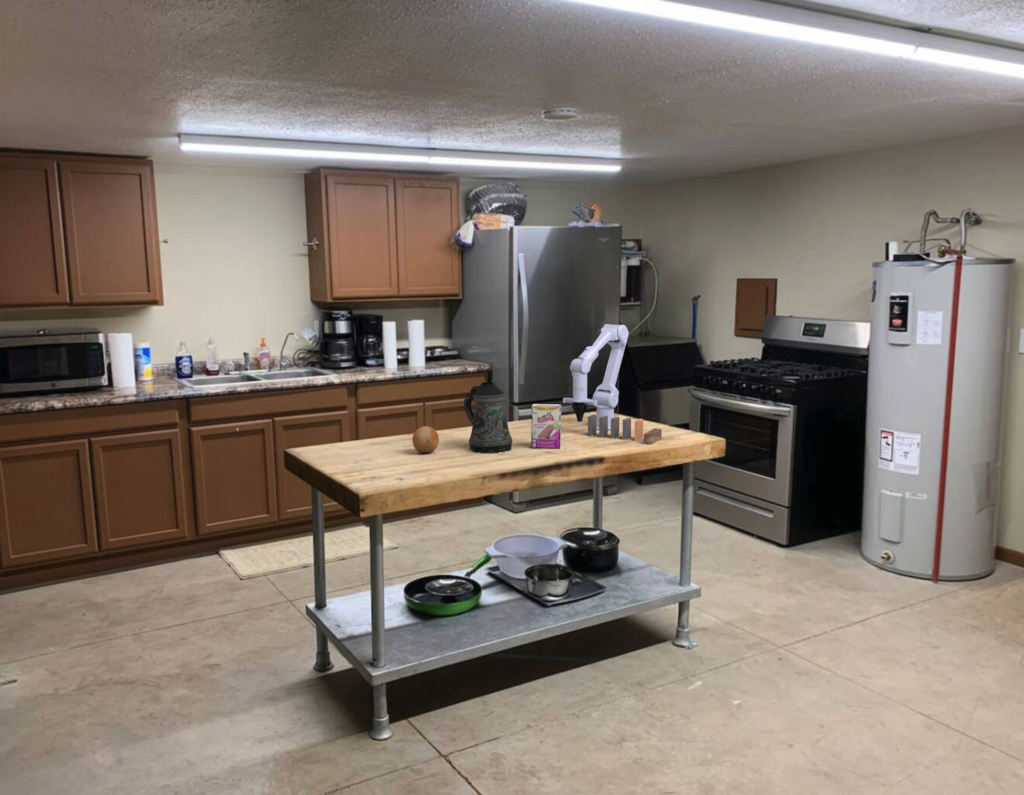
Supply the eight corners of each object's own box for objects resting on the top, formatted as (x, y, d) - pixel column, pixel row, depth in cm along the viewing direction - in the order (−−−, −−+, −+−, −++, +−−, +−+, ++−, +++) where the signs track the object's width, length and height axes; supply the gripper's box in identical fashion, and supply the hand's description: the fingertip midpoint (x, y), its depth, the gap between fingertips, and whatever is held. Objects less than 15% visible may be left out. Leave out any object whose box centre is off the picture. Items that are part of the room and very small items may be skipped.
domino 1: (587, 436, 324) (587, 416, 323) (592, 433, 329) (592, 414, 327) (591, 436, 324) (591, 416, 322) (596, 434, 328) (596, 414, 327)
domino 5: (634, 440, 315) (634, 420, 313) (639, 438, 319) (639, 418, 318) (638, 441, 314) (638, 421, 313) (642, 438, 318) (643, 419, 317)
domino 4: (622, 439, 317) (622, 419, 316) (627, 437, 321) (627, 417, 320) (626, 440, 316) (626, 420, 315) (630, 437, 321) (631, 418, 319)
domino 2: (599, 437, 322) (599, 417, 321) (604, 434, 326) (604, 415, 325) (602, 437, 321) (602, 418, 320) (607, 435, 325) (607, 415, 324)
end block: (643, 443, 309) (643, 433, 308) (654, 438, 319) (654, 428, 319) (650, 444, 308) (651, 434, 307) (661, 438, 318) (661, 428, 317)
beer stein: (508, 454, 294) (508, 386, 290) (456, 452, 297) (455, 386, 293) (515, 444, 310) (515, 380, 306) (466, 443, 313) (465, 379, 309)
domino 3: (610, 438, 320) (610, 418, 318) (615, 436, 324) (615, 416, 323) (614, 438, 319) (614, 419, 317) (619, 436, 323) (619, 417, 322)
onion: (419, 457, 290) (419, 430, 289) (408, 452, 299) (407, 425, 297) (443, 453, 295) (443, 427, 294) (431, 448, 304) (431, 422, 302)
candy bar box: (531, 448, 303) (530, 405, 300) (532, 445, 307) (531, 403, 305) (560, 449, 301) (560, 406, 299) (561, 446, 306) (561, 403, 304)
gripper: (559, 388, 326) (559, 421, 328) (592, 390, 319) (592, 424, 321) (567, 386, 332) (567, 418, 334) (599, 388, 325) (599, 421, 327)
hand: (579, 421), depth 328 cm, fingers closed
